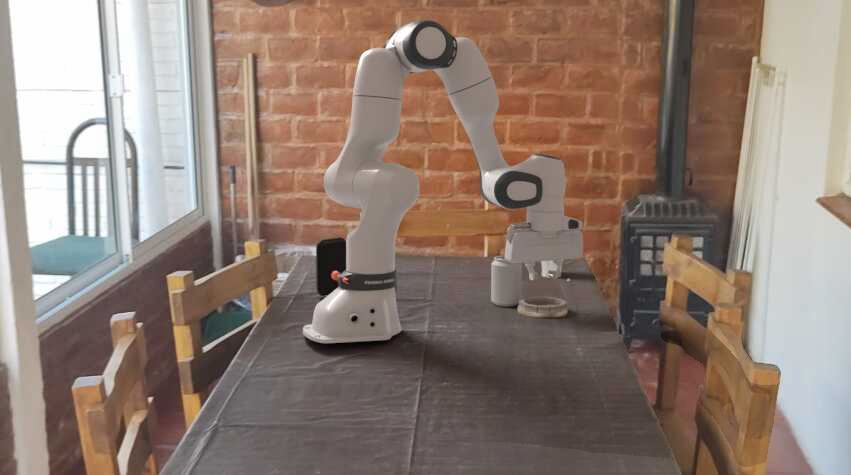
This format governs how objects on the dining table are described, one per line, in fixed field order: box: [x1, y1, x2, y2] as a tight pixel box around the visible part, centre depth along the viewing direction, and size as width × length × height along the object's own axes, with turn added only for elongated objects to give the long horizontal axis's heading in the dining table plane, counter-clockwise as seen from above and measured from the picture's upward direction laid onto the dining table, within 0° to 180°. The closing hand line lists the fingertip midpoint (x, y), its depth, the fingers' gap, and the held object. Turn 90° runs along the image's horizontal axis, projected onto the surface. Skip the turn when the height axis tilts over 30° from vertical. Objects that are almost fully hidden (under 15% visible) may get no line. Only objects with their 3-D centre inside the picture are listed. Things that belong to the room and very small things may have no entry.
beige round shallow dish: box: [517, 295, 568, 319], centre depth 219 cm, size 12×12×2 cm
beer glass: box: [540, 260, 564, 279], centre depth 250 cm, size 7×7×15 cm
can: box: [490, 255, 523, 308], centre depth 226 cm, size 8×8×12 cm
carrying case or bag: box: [315, 237, 346, 297], centre depth 235 cm, size 11×3×15 cm, turn 135°
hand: (543, 278), depth 218 cm, fingers open, 4 cm apart
